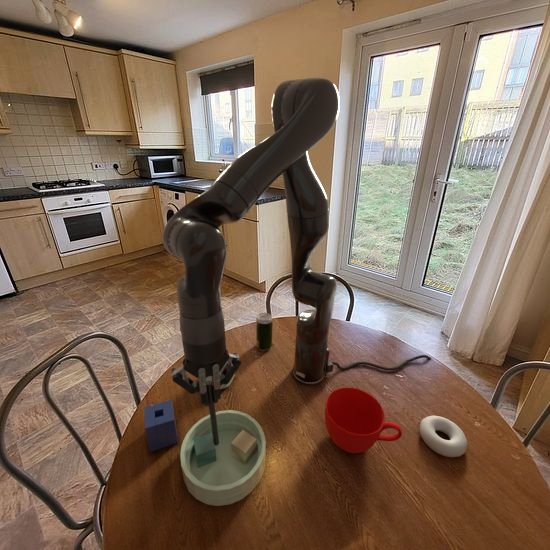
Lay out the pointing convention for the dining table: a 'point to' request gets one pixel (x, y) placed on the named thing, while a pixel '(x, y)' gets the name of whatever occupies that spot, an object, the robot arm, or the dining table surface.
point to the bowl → (223, 460)
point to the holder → (160, 425)
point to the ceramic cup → (356, 420)
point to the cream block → (244, 447)
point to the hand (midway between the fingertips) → (210, 400)
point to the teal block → (205, 450)
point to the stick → (212, 413)
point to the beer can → (264, 331)
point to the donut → (439, 445)
